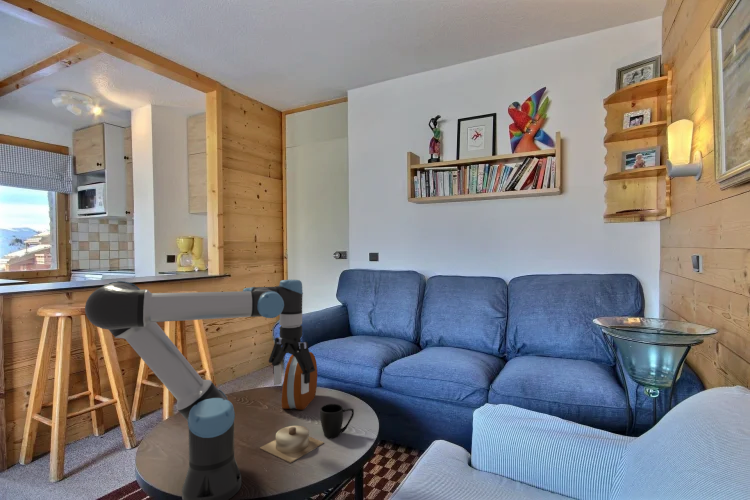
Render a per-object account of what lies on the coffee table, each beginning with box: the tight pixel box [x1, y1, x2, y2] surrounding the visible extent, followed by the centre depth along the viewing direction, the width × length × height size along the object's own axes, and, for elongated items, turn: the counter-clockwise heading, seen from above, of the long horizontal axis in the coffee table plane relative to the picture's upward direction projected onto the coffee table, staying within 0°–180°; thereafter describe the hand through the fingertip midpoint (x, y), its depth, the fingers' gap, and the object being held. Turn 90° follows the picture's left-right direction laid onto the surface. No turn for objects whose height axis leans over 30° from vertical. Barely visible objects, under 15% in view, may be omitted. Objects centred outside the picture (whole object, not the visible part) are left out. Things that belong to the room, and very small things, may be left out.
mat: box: [259, 436, 325, 464], centre depth 130 cm, size 15×15×1 cm
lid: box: [275, 425, 310, 454], centre depth 130 cm, size 11×11×6 cm
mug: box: [319, 403, 355, 439], centre depth 138 cm, size 8×12×10 cm
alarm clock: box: [281, 351, 318, 411], centre depth 167 cm, size 22×10×23 cm, turn 170°
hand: (290, 388), depth 130 cm, fingers open, 13 cm apart
